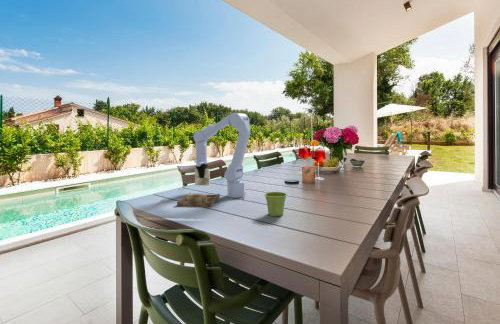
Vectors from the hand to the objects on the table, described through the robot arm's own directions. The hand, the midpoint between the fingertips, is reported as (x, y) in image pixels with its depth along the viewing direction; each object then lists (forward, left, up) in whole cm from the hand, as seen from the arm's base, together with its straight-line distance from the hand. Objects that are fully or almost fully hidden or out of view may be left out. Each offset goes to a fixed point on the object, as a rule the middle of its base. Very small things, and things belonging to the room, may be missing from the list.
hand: (202, 177), depth 156 cm
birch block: (0, 0, -4) cm, 4 cm away
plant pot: (-41, +35, -10) cm, 55 cm away
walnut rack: (-4, +20, -9) cm, 22 cm away
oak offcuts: (-4, +25, -8) cm, 27 cm away
